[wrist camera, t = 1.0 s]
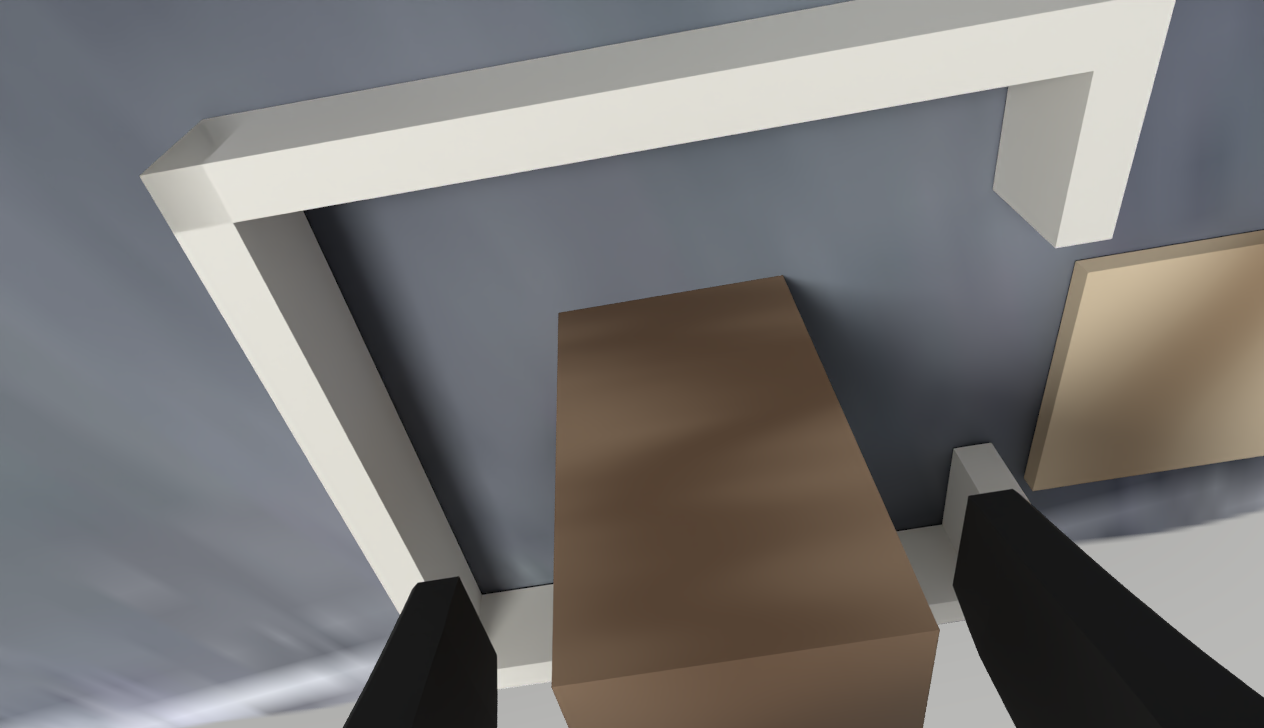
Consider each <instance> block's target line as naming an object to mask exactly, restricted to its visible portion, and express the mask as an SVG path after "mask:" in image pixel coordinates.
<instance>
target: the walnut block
mask: <svg viewBox="0 0 1264 728" xmlns="http://www.w3.org/2000/svg"><path fill="white" fill-rule="evenodd" d="M939 631H940V629H939V627H938V625H937V623H936V620H935V618H934V616H933V614H932V611H931V609H930V607H929V605H928V602H927V600H926V598H925V595H924V593H923V591H922V589H921V586H920V584H919V582H918V580H917V577H916V575H915V573H914V571H913V568H912V566H911V564H910V562H909V559H908V557H907V555H906V553H905V550H904V548H903V546H902V544H901V541H900V539H899V537H898V535H897V532H896V530H895V528H894V525H893V523H892V521H891V519H890V516H889V514H888V512H887V510H886V507H885V505H884V503H883V501H882V498H881V496H880V494H879V492H878V489H877V487H876V485H875V483H874V480H873V478H872V476H871V474H870V471H869V469H868V467H867V465H866V462H865V460H864V458H863V455H862V453H861V451H860V449H859V446H858V444H857V442H856V440H855V437H854V435H853V433H852V431H851V428H850V426H849V424H848V422H847V419H846V417H845V415H844V413H843V410H842V408H841V406H840V404H839V401H838V399H837V397H836V395H835V392H834V390H833V388H832V385H831V383H830V381H829V379H828V376H827V374H826V372H825V370H824V367H823V365H822V363H821V361H820V358H819V356H818V354H817V352H816V349H815V347H814V345H813V343H812V340H811V338H810V336H809V334H808V331H807V329H806V327H805V325H804V322H803V320H802V318H801V315H800V313H799V311H798V309H797V306H796V304H795V302H794V300H793V297H792V295H791V293H790V291H789V288H788V286H787V284H786V282H785V279H784V277H783V275H781V276H775V277H769V278H763V279H757V280H751V281H745V282H740V283H734V284H728V285H722V286H716V287H710V288H704V289H698V290H692V291H686V292H680V293H674V294H668V295H662V296H656V297H650V298H644V299H639V300H633V301H627V302H621V303H615V304H609V305H603V306H597V307H591V308H585V309H579V310H573V311H567V312H561V313H559V316H558V369H557V422H556V476H555V529H554V582H553V636H552V689H553V692H554V694H555V696H556V699H557V701H558V704H559V706H560V708H561V711H562V713H563V715H564V718H565V720H566V723H567V725H568V727H569V728H923V724H924V718H925V712H926V707H927V700H928V695H929V689H930V684H931V677H932V671H933V666H934V660H935V655H936V648H937V643H938V637H939Z"/></svg>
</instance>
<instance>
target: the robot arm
mask: <svg viewBox="0 0 1264 728" xmlns="http://www.w3.org/2000/svg"><path fill="white" fill-rule="evenodd" d="M953 588H954V591H955V593H956V596H957V599H958V601H959V604H960V607H961V610H962V612H963V615H964V618H965V620H966V623H967V625H968V628H969V631H970V633H971V635H972V638H973V641H974V643H975V646H976V648H977V651H978V653H979V656H980V658H981V660H982V662H983V664H984V666H985V668H986V670H987V672H988V674H989V676H990V677H991V680H992V682H993V684H994V686H995V687H996V689H997V691H998V693H999V695H1000V697H1001V699H1002V701H1003V703H1004V705H1005V707H1006V709H1007V711H1008V713H1009V714H1010V716H1011V718H1012V720H1013V722H1014V724H1015V726H1016V728H1264V697H1262V696H1261V695H1260V694H1258V693H1257V692H1256V691H1254V690H1253V689H1252V688H1250V687H1249V686H1247V685H1246V684H1245V683H1244V682H1242V681H1241V680H1240V679H1238V678H1237V677H1236V676H1235V675H1233V674H1232V673H1230V672H1229V671H1228V670H1227V669H1225V668H1224V667H1223V666H1221V665H1220V664H1219V663H1218V662H1216V661H1215V660H1214V659H1212V658H1211V657H1210V656H1208V655H1207V654H1206V653H1205V652H1203V651H1202V650H1201V649H1200V648H1198V647H1197V646H1196V645H1195V644H1193V643H1192V642H1191V641H1190V640H1188V639H1187V638H1186V637H1185V636H1183V635H1182V634H1181V633H1179V632H1178V631H1177V630H1176V629H1175V628H1173V627H1172V626H1171V625H1170V624H1169V623H1167V622H1166V621H1165V620H1164V619H1163V618H1161V617H1160V616H1159V615H1158V614H1157V613H1155V612H1154V611H1153V610H1152V609H1151V608H1149V607H1148V606H1147V605H1146V604H1145V603H1143V602H1142V601H1141V600H1140V599H1138V598H1137V597H1136V596H1135V595H1134V594H1132V593H1131V592H1130V591H1129V590H1128V589H1126V588H1125V587H1124V586H1123V585H1122V584H1120V583H1119V582H1118V581H1117V580H1116V579H1115V578H1114V577H1112V576H1111V575H1110V574H1109V573H1108V572H1107V571H1105V570H1104V569H1103V568H1102V567H1101V566H1100V565H1099V564H1098V563H1096V562H1095V561H1094V560H1093V559H1092V558H1091V557H1089V556H1088V555H1087V554H1086V553H1085V552H1084V551H1083V550H1082V549H1080V548H1079V547H1078V546H1077V545H1076V544H1075V543H1074V542H1073V541H1071V540H1070V539H1069V538H1068V537H1067V536H1066V535H1065V534H1064V533H1063V532H1061V531H1060V530H1059V529H1058V528H1057V527H1056V526H1055V525H1054V524H1053V523H1051V522H1050V521H1049V520H1048V519H1047V518H1046V517H1045V516H1044V515H1043V514H1041V513H1040V512H1039V511H1038V510H1037V509H1036V508H1035V507H1034V506H1033V505H1032V504H1030V503H1029V502H1028V501H1027V500H1026V499H1025V498H1024V497H1023V496H1022V495H1020V494H1019V493H1018V492H1017V491H1015V490H1014V489H1008V490H1002V491H995V492H989V493H983V494H976V495H970V496H968V500H967V506H966V512H965V517H964V523H963V529H962V534H961V540H960V546H959V551H958V557H957V563H956V568H955V574H954V580H953ZM343 728H497V654H496V652H495V650H494V647H493V645H492V643H491V641H490V639H489V637H488V635H487V633H486V631H485V629H484V627H483V625H482V623H481V621H480V619H479V616H478V614H477V612H476V610H475V608H474V606H473V604H472V602H471V600H470V598H469V596H468V594H467V592H466V590H465V587H464V585H463V583H462V581H461V579H460V577H459V576H457V577H451V578H444V579H438V580H432V581H425V582H419V583H417V584H416V585H415V586H414V587H413V589H412V590H411V593H410V595H409V597H408V599H407V601H406V603H405V605H404V608H403V610H402V612H401V614H400V616H399V618H398V620H397V622H396V624H395V626H394V629H393V631H392V633H391V635H390V637H389V639H388V641H387V643H386V645H385V647H384V649H383V651H382V653H381V655H380V657H379V659H378V661H377V663H376V665H375V667H374V669H373V671H372V673H371V675H370V677H369V679H368V681H367V683H366V685H365V687H364V689H363V691H362V693H361V694H360V696H359V698H358V700H357V702H356V704H355V706H354V708H353V710H352V711H351V713H350V715H349V717H348V719H347V721H346V723H345V724H344V726H343Z"/></svg>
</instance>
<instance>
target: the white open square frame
mask: <svg viewBox="0 0 1264 728" xmlns="http://www.w3.org/2000/svg"><path fill="white" fill-rule="evenodd" d="M1175 1H1176V0H854V1H849V2H843V3H838V4H832V5H827V6H821V7H816V8H810V9H805V10H800V11H794V12H789V13H783V14H778V15H772V16H767V17H761V18H756V19H750V20H745V21H739V22H734V23H728V24H723V25H717V26H712V27H706V28H701V29H696V30H690V31H685V32H679V33H674V34H668V35H663V36H657V37H652V38H646V39H641V40H635V41H630V42H624V43H619V44H613V45H608V46H602V47H597V48H591V49H586V50H581V51H575V52H570V53H564V54H559V55H553V56H548V57H542V58H537V59H531V60H526V61H520V62H515V63H509V64H504V65H498V66H493V67H487V68H482V69H477V70H471V71H466V72H460V73H455V74H449V75H444V76H438V77H433V78H427V79H422V80H416V81H411V82H405V83H400V84H394V85H389V86H383V87H378V88H372V89H367V90H362V91H356V92H351V93H345V94H340V95H334V96H329V97H323V98H318V99H312V100H307V101H301V102H296V103H290V104H285V105H279V106H274V107H268V108H263V109H257V110H252V111H247V112H241V113H236V114H230V115H225V116H219V117H214V118H208V119H203V120H201V121H200V122H199V123H198V124H197V125H196V126H195V127H194V128H192V129H191V130H190V131H189V132H188V133H187V134H186V135H185V136H183V137H182V138H181V139H180V140H179V141H178V142H177V143H176V144H174V145H173V146H172V147H171V148H170V149H169V150H168V151H167V152H165V153H164V154H163V155H162V156H161V157H160V158H159V159H158V160H157V161H155V162H154V163H153V164H152V165H151V166H150V167H149V168H148V169H146V170H145V171H144V172H143V173H142V174H141V175H140V178H141V179H142V181H143V183H144V184H145V186H146V188H147V189H148V191H149V193H150V195H151V196H152V198H153V200H154V201H155V203H156V205H157V206H158V208H159V210H160V211H161V213H162V215H163V216H164V218H165V220H166V221H167V223H168V225H169V227H170V228H171V230H172V232H173V233H174V235H175V237H176V238H177V240H178V242H179V243H180V245H181V247H182V248H183V250H184V252H185V253H186V255H187V257H188V259H189V260H190V262H191V264H192V265H193V267H194V269H195V270H196V272H197V274H198V275H199V277H200V279H201V280H202V282H203V284H204V285H205V287H206V289H207V290H208V292H209V294H210V296H211V297H212V299H213V301H214V302H215V304H216V306H217V307H218V309H219V311H220V312H221V314H222V316H223V317H224V319H225V321H226V322H227V324H228V326H229V328H230V329H231V331H232V333H233V334H234V336H235V338H236V339H237V341H238V343H239V344H240V346H241V348H242V349H243V351H244V353H245V354H246V356H247V358H248V360H249V361H250V363H251V365H252V366H253V368H254V370H255V371H256V373H257V375H258V376H259V378H260V380H261V381H262V383H263V385H264V386H265V388H266V390H267V391H268V393H269V395H270V397H271V398H272V400H273V402H274V403H275V405H276V407H277V408H278V410H279V412H280V413H281V415H282V417H283V418H284V420H285V422H286V423H287V425H288V427H289V429H290V430H291V432H292V434H293V435H294V437H295V439H296V440H297V442H298V444H299V445H300V447H301V449H302V450H303V452H304V454H305V455H306V457H307V459H308V461H309V462H310V464H311V466H312V467H313V469H314V471H315V472H316V474H317V476H318V477H319V479H320V481H321V482H322V484H323V486H324V487H325V489H326V491H327V492H328V494H329V496H330V498H331V499H332V501H333V503H334V504H335V506H336V508H337V509H338V511H339V513H340V514H341V516H342V518H343V519H344V521H345V523H346V524H347V526H348V528H349V530H350V531H351V533H352V535H353V536H354V538H355V540H356V541H357V543H358V545H359V546H360V548H361V550H362V551H363V553H364V555H365V556H366V558H367V560H368V562H369V563H370V565H371V567H372V568H373V570H374V572H375V573H376V575H377V577H378V578H379V580H380V582H381V583H382V585H383V587H384V588H385V590H386V592H387V594H388V595H389V597H390V599H391V600H392V602H393V604H394V605H395V607H396V609H397V610H398V612H399V614H401V612H402V610H403V608H404V605H405V603H406V601H407V599H408V597H409V595H410V593H411V590H412V589H413V587H414V586H415V585H416V584H417V583H419V582H425V581H432V580H438V579H444V578H451V577H457V576H459V577H460V579H461V581H462V583H463V585H464V587H465V590H466V592H467V594H468V596H469V598H470V600H471V602H472V604H473V606H474V608H475V610H476V612H477V614H478V616H479V619H480V621H481V623H482V625H483V627H484V629H485V631H486V633H487V635H488V637H489V639H490V641H491V643H492V645H493V647H494V650H495V652H496V654H497V689H504V688H511V687H517V686H524V685H530V684H538V683H545V682H551V681H552V636H553V584H550V585H544V586H537V587H530V588H524V589H517V590H511V591H504V592H498V593H491V594H485V595H482V594H481V592H480V590H479V588H478V585H477V583H476V581H475V579H474V577H473V575H472V573H471V570H470V568H469V566H468V564H467V562H466V560H465V558H464V555H463V553H462V551H461V549H460V547H459V545H458V543H457V540H456V538H455V536H454V534H453V532H452V530H451V528H450V525H449V523H448V521H447V519H446V517H445V515H444V512H443V510H442V508H441V506H440V504H439V502H438V500H437V497H436V495H435V493H434V491H433V489H432V487H431V485H430V482H429V480H428V478H427V476H426V474H425V472H424V470H423V467H422V465H421V463H420V461H419V459H418V457H417V455H416V452H415V450H414V448H413V446H412V444H411V442H410V439H409V437H408V435H407V433H406V431H405V429H404V427H403V424H402V422H401V420H400V418H399V416H398V414H397V412H396V409H395V407H394V405H393V403H392V401H391V399H390V397H389V394H388V392H387V390H386V388H385V386H384V384H383V381H382V379H381V377H380V375H379V373H378V371H377V369H376V366H375V364H374V362H373V360H372V358H371V356H370V354H369V351H368V349H367V347H366V345H365V343H364V341H363V339H362V336H361V334H360V332H359V330H358V328H357V326H356V324H355V321H354V319H353V317H352V315H351V313H350V311H349V308H348V306H347V304H346V302H345V300H344V298H343V296H342V293H341V291H340V289H339V287H338V285H337V283H336V281H335V278H334V276H333V274H332V272H331V270H330V268H329V266H328V263H327V261H326V259H325V257H324V255H323V253H322V250H321V248H320V246H319V244H318V242H317V240H316V238H315V235H314V233H313V231H312V229H311V227H310V225H309V223H308V220H307V218H306V216H305V214H304V212H303V210H308V209H314V208H320V207H325V206H331V205H337V204H342V203H348V202H354V201H359V200H365V199H371V198H376V197H382V196H388V195H393V194H399V193H405V192H410V191H416V190H422V189H427V188H433V187H439V186H444V185H450V184H456V183H461V182H467V181H473V180H478V179H484V178H490V177H495V176H501V175H507V174H512V173H518V172H524V171H529V170H535V169H541V168H546V167H552V166H558V165H563V164H569V163H575V162H580V161H586V160H592V159H597V158H603V157H609V156H614V155H620V154H626V153H631V152H637V151H643V150H648V149H654V148H660V147H665V146H671V145H677V144H682V143H688V142H694V141H699V140H705V139H711V138H716V137H722V136H728V135H733V134H739V133H745V132H750V131H756V130H762V129H767V128H773V127H779V126H784V125H790V124H796V123H801V122H807V121H813V120H818V119H824V118H830V117H835V116H841V115H847V114H852V113H858V112H864V111H869V110H875V109H881V108H886V107H892V106H898V105H904V104H909V103H915V102H921V101H926V100H932V99H938V98H943V97H949V96H955V95H960V94H966V93H972V92H977V91H983V90H989V89H994V88H1000V87H1006V86H1008V92H1007V99H1006V105H1005V112H1004V118H1003V125H1002V132H1001V138H1000V145H999V152H998V158H997V165H996V171H995V178H994V185H993V190H994V191H995V192H996V193H997V194H998V195H999V196H1000V197H1001V198H1002V199H1003V200H1004V201H1006V202H1007V203H1008V204H1009V205H1010V206H1011V207H1012V208H1013V209H1014V210H1015V211H1016V212H1017V213H1018V214H1019V215H1020V216H1022V217H1023V218H1024V219H1025V220H1026V221H1027V222H1028V223H1029V224H1030V225H1031V226H1032V227H1033V228H1034V229H1035V230H1036V231H1038V232H1039V233H1040V234H1041V235H1042V236H1043V237H1044V238H1045V239H1046V240H1047V241H1048V242H1049V243H1050V244H1051V245H1052V246H1054V247H1055V248H1059V247H1065V246H1071V245H1077V244H1083V243H1089V242H1095V241H1101V240H1107V239H1112V236H1113V232H1114V229H1115V225H1116V221H1117V217H1118V214H1119V210H1120V206H1121V202H1122V199H1123V195H1124V191H1125V188H1126V184H1127V180H1128V176H1129V173H1130V169H1131V165H1132V161H1133V158H1134V154H1135V150H1136V146H1137V143H1138V139H1139V135H1140V132H1141V128H1142V124H1143V120H1144V117H1145V113H1146V109H1147V105H1148V102H1149V98H1150V94H1151V90H1152V87H1153V83H1154V79H1155V76H1156V72H1157V68H1158V64H1159V61H1160V57H1161V53H1162V49H1163V46H1164V42H1165V38H1166V34H1167V31H1168V27H1169V23H1170V20H1171V16H1172V12H1173V8H1174V5H1175ZM1008 489H1014V490H1015V491H1017V492H1018V493H1019V494H1020V495H1022V496H1023V497H1024V498H1025V499H1026V500H1027V501H1028V502H1029V503H1030V501H1029V500H1028V498H1027V497H1026V495H1025V494H1024V492H1023V491H1022V489H1021V488H1020V486H1019V484H1018V483H1017V481H1016V480H1015V478H1014V477H1013V475H1012V474H1011V472H1010V471H1009V469H1008V468H1007V466H1006V464H1005V463H1004V461H1003V460H1002V458H1001V457H1000V455H999V454H998V452H997V451H996V449H995V448H994V446H993V444H992V443H985V444H979V445H973V446H966V447H960V448H954V449H953V456H952V462H951V469H950V475H949V482H948V489H947V495H946V502H945V509H944V515H943V522H942V525H936V526H929V527H923V528H916V529H909V530H903V531H896V532H897V535H898V537H899V539H900V541H901V544H902V546H903V548H904V550H905V553H906V555H907V557H908V559H909V562H910V564H911V566H912V568H913V571H914V573H915V575H916V577H917V580H918V582H919V584H920V586H921V589H922V591H923V593H924V595H925V598H926V600H927V602H928V605H929V607H930V609H931V611H932V614H933V616H934V618H935V620H936V623H937V625H938V624H944V623H950V622H958V621H965V618H964V615H963V612H962V610H961V607H960V604H959V601H958V599H957V596H956V593H955V591H954V588H953V580H954V574H955V568H956V563H957V557H958V551H959V546H960V540H961V534H962V529H963V523H964V517H965V512H966V506H967V500H968V496H970V495H976V494H983V493H989V492H995V491H1002V490H1008ZM1030 504H1031V503H1030Z"/></svg>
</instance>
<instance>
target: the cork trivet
mask: <svg viewBox="0 0 1264 728" xmlns="http://www.w3.org/2000/svg"><path fill="white" fill-rule="evenodd" d="M1258 456H1264V230H1261V231H1255V232H1249V233H1243V234H1237V235H1231V236H1225V237H1219V238H1213V239H1207V240H1201V241H1195V242H1189V243H1183V244H1177V245H1171V246H1165V247H1159V248H1153V249H1147V250H1141V251H1135V252H1128V253H1122V254H1116V255H1110V256H1104V257H1098V258H1092V259H1086V260H1080V261H1076V262H1075V266H1074V271H1073V275H1072V279H1071V283H1070V287H1069V291H1068V296H1067V300H1066V304H1065V308H1064V312H1063V316H1062V321H1061V325H1060V329H1059V333H1058V337H1057V341H1056V346H1055V350H1054V354H1053V358H1052V362H1051V367H1050V371H1049V375H1048V379H1047V383H1046V387H1045V392H1044V396H1043V400H1042V404H1041V408H1040V412H1039V417H1038V421H1037V425H1036V429H1035V433H1034V437H1033V442H1032V446H1031V450H1030V454H1029V458H1028V463H1027V467H1026V471H1025V475H1024V479H1025V480H1026V482H1027V483H1028V485H1029V486H1030V488H1031V489H1032V491H1037V490H1043V489H1050V488H1056V487H1063V486H1069V485H1076V484H1082V483H1089V482H1095V481H1102V480H1108V479H1115V478H1121V477H1128V476H1134V475H1141V474H1147V473H1154V472H1160V471H1167V470H1173V469H1180V468H1186V467H1193V466H1199V465H1206V464H1212V463H1219V462H1225V461H1232V460H1238V459H1245V458H1251V457H1258Z"/></svg>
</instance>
